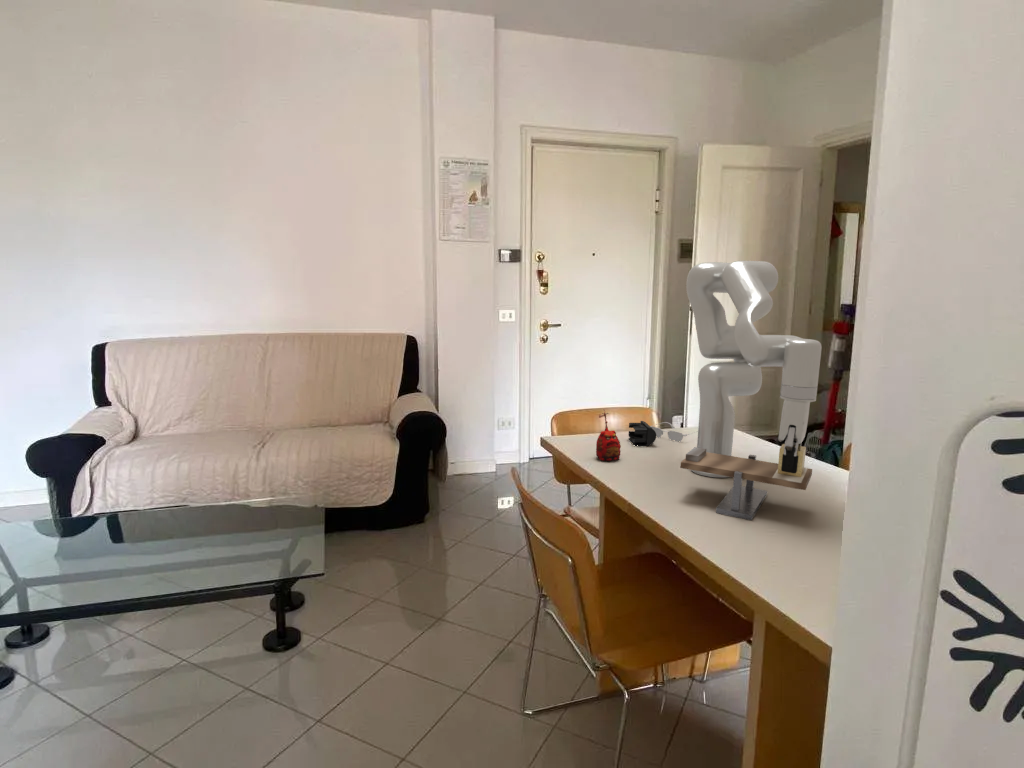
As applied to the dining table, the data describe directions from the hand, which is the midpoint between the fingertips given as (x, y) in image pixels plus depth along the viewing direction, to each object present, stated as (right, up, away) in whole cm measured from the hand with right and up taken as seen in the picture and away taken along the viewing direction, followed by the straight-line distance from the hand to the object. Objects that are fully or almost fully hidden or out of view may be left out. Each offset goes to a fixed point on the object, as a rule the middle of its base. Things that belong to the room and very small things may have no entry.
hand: (790, 468), depth 140 cm
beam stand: (-9, -10, +7) cm, 15 cm away
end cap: (-22, -1, +62) cm, 66 cm away
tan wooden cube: (0, -1, 0) cm, 1 cm away
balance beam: (-8, -1, +5) cm, 10 cm away
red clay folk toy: (-36, -3, +43) cm, 56 cm away
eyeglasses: (-6, +1, +74) cm, 74 cm away
